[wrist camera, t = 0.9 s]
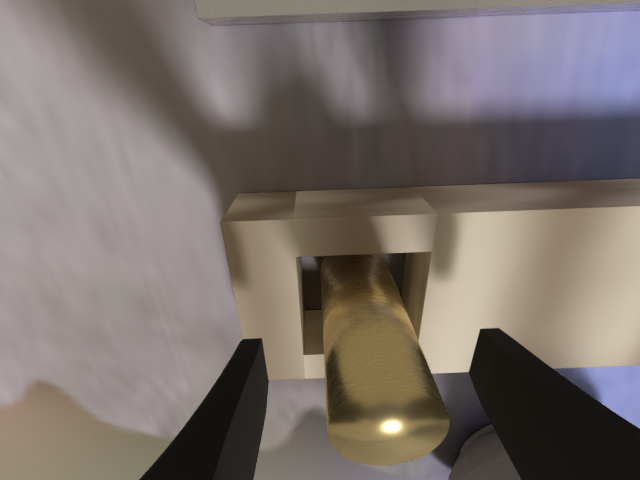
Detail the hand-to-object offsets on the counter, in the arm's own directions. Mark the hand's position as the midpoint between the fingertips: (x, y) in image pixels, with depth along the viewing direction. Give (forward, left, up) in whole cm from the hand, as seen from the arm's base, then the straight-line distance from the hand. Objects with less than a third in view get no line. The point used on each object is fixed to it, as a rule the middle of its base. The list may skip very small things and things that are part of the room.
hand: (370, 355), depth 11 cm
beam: (-4, 0, -5) cm, 7 cm away
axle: (0, 0, -5) cm, 5 cm away
